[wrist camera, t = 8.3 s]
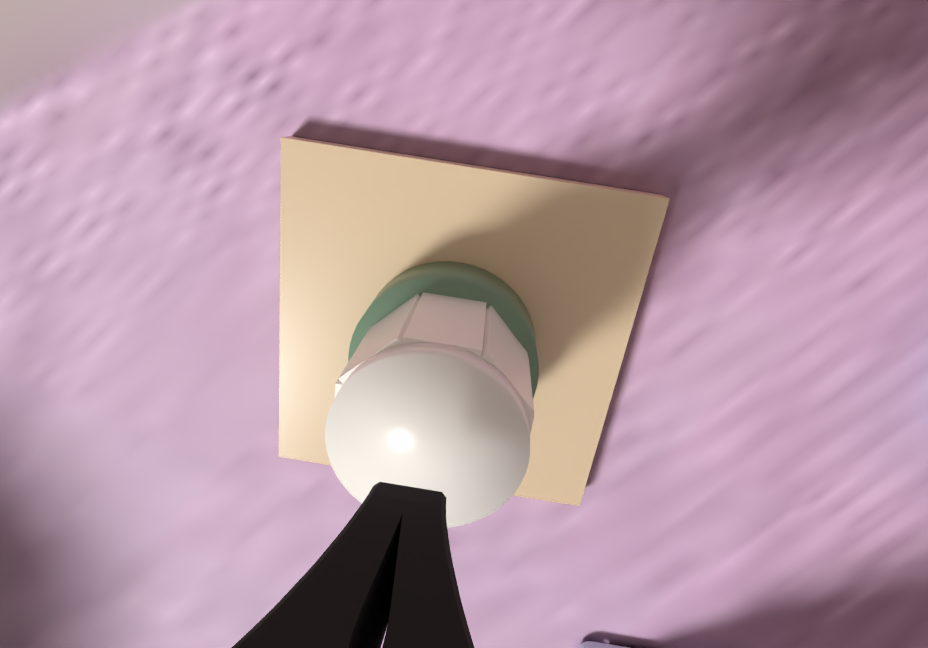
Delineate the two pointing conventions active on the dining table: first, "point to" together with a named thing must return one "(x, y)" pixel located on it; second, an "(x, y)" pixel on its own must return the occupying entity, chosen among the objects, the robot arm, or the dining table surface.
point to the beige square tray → (460, 283)
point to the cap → (435, 407)
